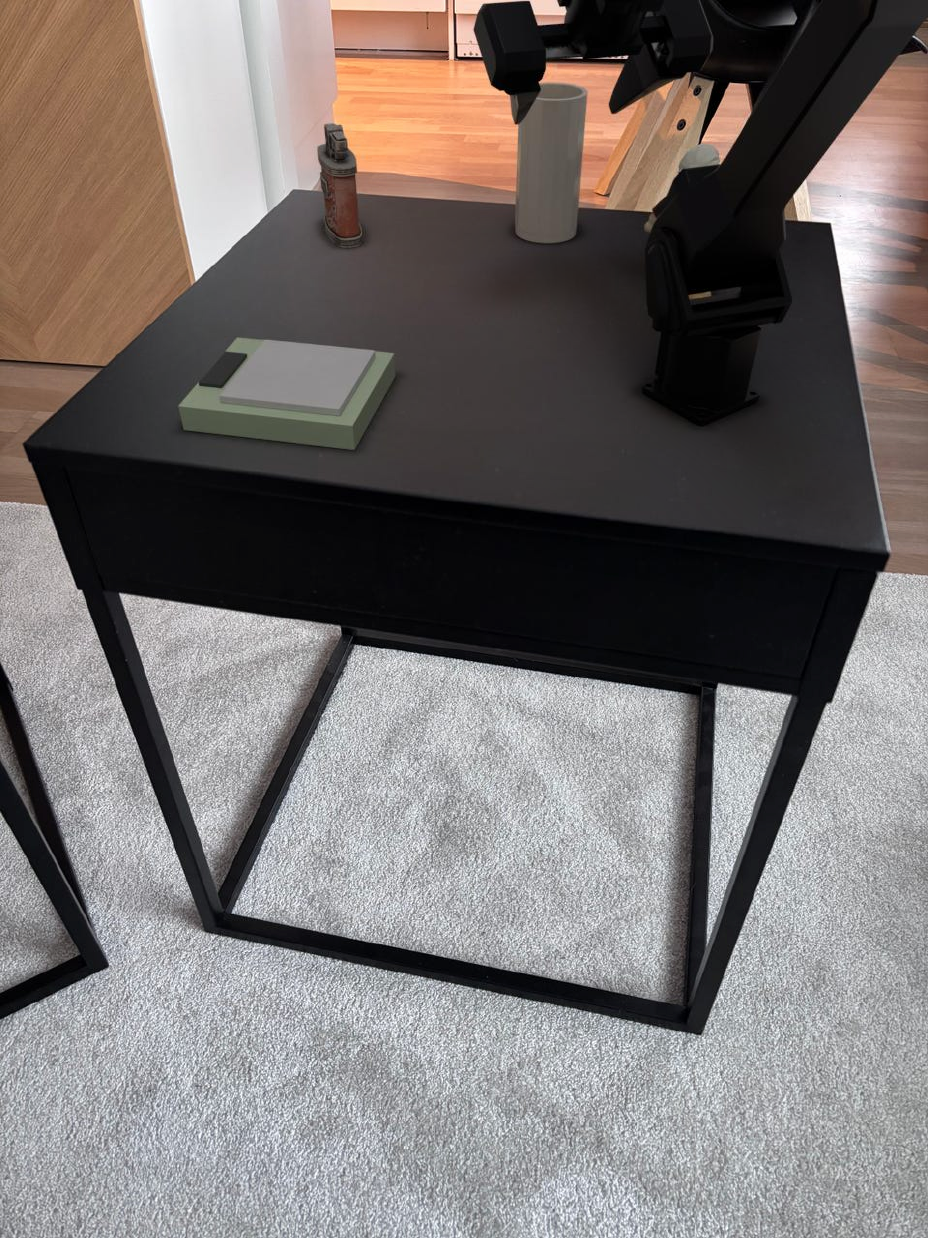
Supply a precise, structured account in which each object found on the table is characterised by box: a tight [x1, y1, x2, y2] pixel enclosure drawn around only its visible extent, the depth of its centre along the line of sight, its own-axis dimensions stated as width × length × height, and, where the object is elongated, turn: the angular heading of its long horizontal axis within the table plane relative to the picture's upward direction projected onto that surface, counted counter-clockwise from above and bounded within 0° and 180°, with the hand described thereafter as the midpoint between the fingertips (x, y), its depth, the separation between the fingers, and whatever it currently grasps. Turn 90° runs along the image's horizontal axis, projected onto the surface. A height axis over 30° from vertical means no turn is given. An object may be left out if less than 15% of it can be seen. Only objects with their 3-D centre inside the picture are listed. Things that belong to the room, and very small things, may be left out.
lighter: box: [316, 122, 363, 249], centre depth 93 cm, size 8×3×10 cm, turn 17°
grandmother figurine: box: [643, 143, 721, 299], centre depth 81 cm, size 8×4×13 cm, turn 84°
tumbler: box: [514, 81, 589, 244], centre depth 92 cm, size 6×6×13 cm
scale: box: [177, 337, 396, 451], centre depth 71 cm, size 13×11×3 cm
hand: (564, 114), depth 82 cm, fingers open, 9 cm apart
